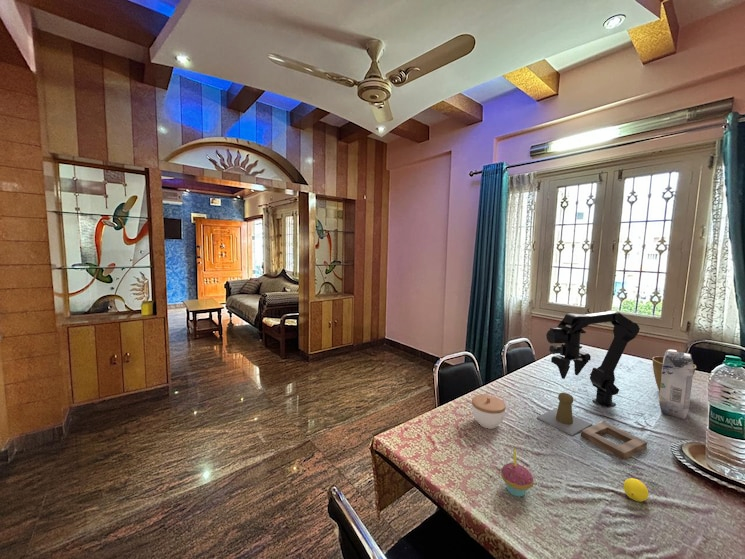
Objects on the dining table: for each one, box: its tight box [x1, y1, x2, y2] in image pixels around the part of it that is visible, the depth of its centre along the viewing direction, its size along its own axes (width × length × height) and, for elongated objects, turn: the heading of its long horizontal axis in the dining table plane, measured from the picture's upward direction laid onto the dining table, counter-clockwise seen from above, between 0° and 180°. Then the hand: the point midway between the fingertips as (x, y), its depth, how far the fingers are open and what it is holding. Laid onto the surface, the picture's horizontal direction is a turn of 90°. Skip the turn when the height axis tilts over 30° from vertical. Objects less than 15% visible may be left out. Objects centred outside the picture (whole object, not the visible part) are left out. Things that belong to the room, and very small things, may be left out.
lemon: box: [622, 477, 650, 502], centre depth 86 cm, size 7×5×5 cm
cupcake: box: [500, 447, 534, 497], centre depth 89 cm, size 9×8×12 cm
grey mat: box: [536, 407, 593, 437], centre depth 124 cm, size 14×14×1 cm
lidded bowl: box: [471, 394, 507, 430], centre depth 122 cm, size 13×13×11 cm
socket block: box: [579, 421, 648, 461], centre depth 111 cm, size 14×14×2 cm
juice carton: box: [658, 349, 694, 420], centre depth 129 cm, size 9×10×27 cm
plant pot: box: [652, 356, 697, 393], centre depth 146 cm, size 15×15×16 cm
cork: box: [556, 392, 574, 425], centre depth 123 cm, size 6×6×11 cm
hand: (569, 376), depth 136 cm, fingers open, 9 cm apart
